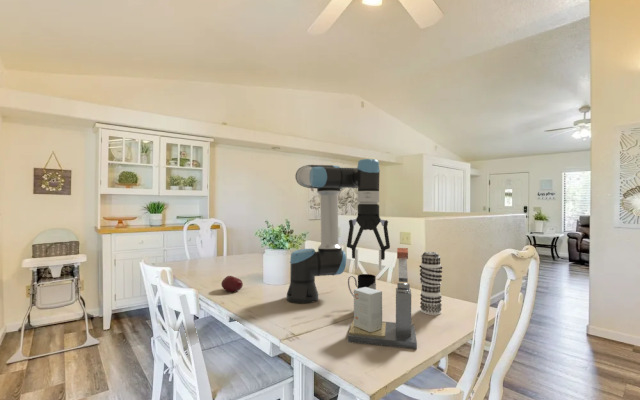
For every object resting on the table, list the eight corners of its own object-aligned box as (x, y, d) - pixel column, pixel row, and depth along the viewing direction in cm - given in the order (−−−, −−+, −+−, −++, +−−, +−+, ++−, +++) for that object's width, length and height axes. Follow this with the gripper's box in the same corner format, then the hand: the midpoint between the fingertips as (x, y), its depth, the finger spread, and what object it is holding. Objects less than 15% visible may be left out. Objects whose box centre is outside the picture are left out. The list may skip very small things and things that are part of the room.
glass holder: (369, 316, 131) (369, 279, 131) (342, 308, 141) (342, 274, 141) (380, 311, 137) (381, 275, 138) (354, 303, 147) (354, 271, 147)
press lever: (397, 290, 111) (397, 282, 109) (397, 255, 130) (397, 247, 129) (409, 291, 110) (409, 283, 108) (407, 255, 129) (407, 248, 128)
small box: (382, 328, 112) (382, 291, 113) (370, 333, 108) (370, 294, 109) (365, 321, 119) (365, 286, 119) (353, 326, 115) (353, 289, 115)
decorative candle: (439, 316, 131) (440, 255, 131) (416, 312, 136) (417, 253, 136) (444, 310, 139) (444, 252, 139) (422, 306, 144) (422, 250, 144)
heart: (226, 294, 159) (243, 293, 166) (228, 278, 160) (245, 277, 167) (215, 289, 168) (233, 288, 175) (217, 274, 169) (234, 274, 176)
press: (347, 342, 107) (347, 293, 107) (353, 324, 123) (354, 282, 123) (416, 349, 102) (416, 298, 102) (414, 329, 118) (414, 285, 118)
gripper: (337, 203, 112) (337, 269, 112) (398, 203, 108) (398, 272, 108) (341, 203, 120) (341, 264, 120) (398, 203, 115) (398, 267, 115)
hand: (368, 268), depth 114 cm, fingers open, 8 cm apart
